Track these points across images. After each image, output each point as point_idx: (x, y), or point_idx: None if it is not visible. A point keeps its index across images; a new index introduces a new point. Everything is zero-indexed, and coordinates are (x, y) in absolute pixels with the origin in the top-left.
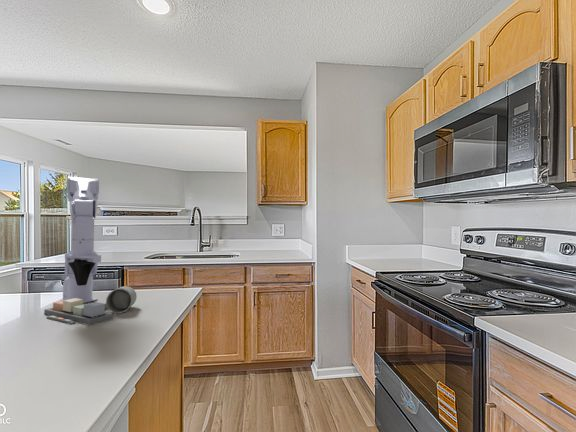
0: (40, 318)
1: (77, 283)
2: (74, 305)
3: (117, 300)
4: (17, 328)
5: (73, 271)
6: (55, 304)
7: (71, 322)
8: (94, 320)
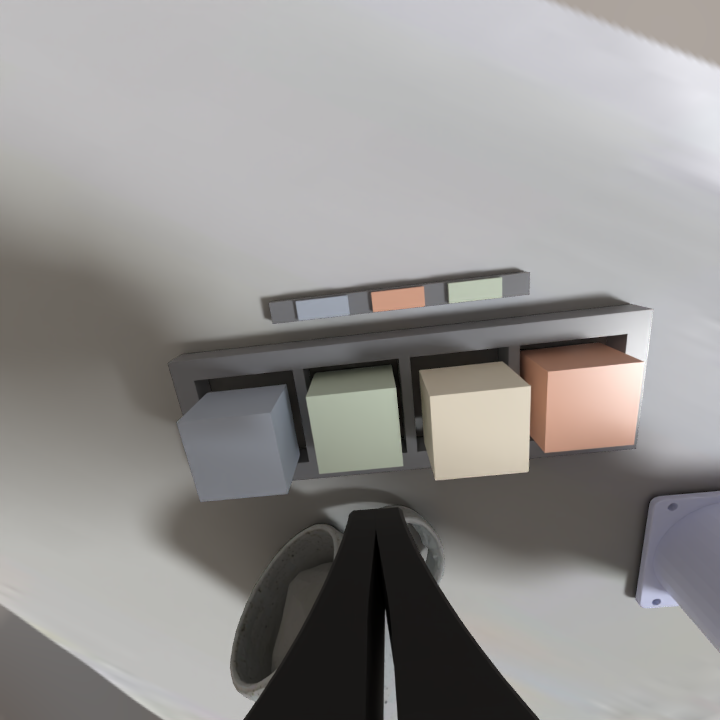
0: (552, 247)
1: (383, 520)
2: (426, 409)
3: (314, 597)
4: (447, 53)
5: (467, 657)
6: (606, 361)
7: (270, 304)
8: (178, 384)
